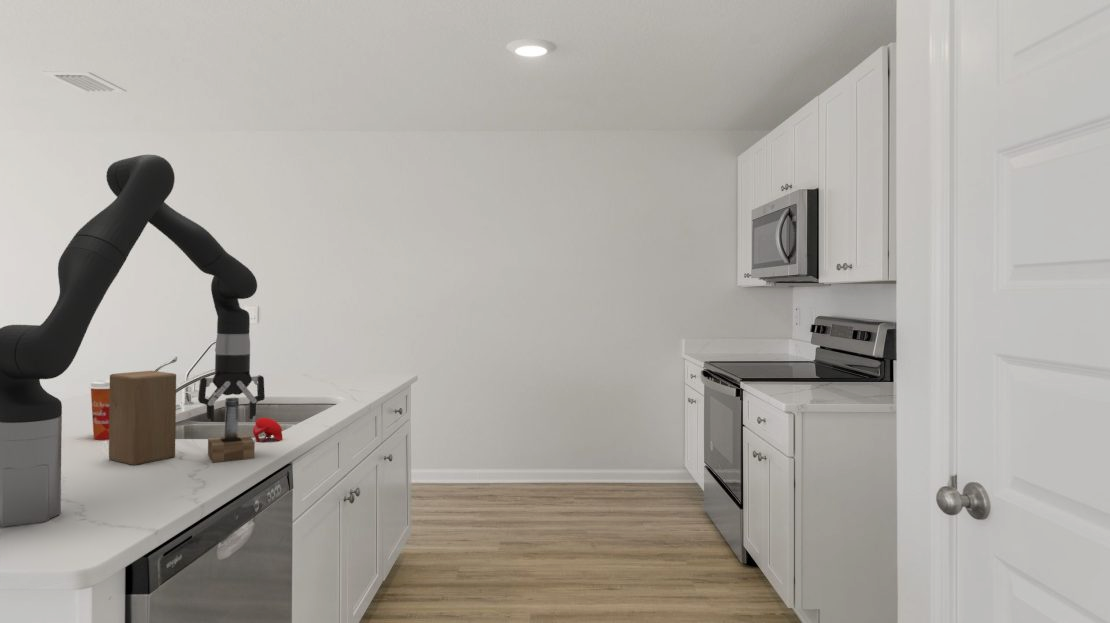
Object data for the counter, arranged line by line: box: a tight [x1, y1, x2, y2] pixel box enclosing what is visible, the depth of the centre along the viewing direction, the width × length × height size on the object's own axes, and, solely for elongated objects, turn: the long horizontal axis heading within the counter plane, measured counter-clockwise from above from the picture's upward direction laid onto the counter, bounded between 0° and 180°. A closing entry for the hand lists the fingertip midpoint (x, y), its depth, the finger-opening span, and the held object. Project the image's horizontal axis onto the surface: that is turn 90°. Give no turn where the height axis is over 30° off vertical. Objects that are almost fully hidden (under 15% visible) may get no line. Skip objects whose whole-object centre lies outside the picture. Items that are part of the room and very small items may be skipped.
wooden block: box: [108, 370, 177, 466], centre depth 157 cm, size 10×10×20 cm
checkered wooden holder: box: [207, 434, 256, 463], centre depth 161 cm, size 9×9×4 cm
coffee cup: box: [88, 379, 110, 441], centre depth 177 cm, size 8×8×15 cm
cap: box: [252, 417, 283, 442], centre depth 180 cm, size 8×6×6 cm
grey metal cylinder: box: [223, 397, 240, 442], centre depth 161 cm, size 3×3×14 cm
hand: (231, 419), depth 161 cm, fingers open, 8 cm apart
